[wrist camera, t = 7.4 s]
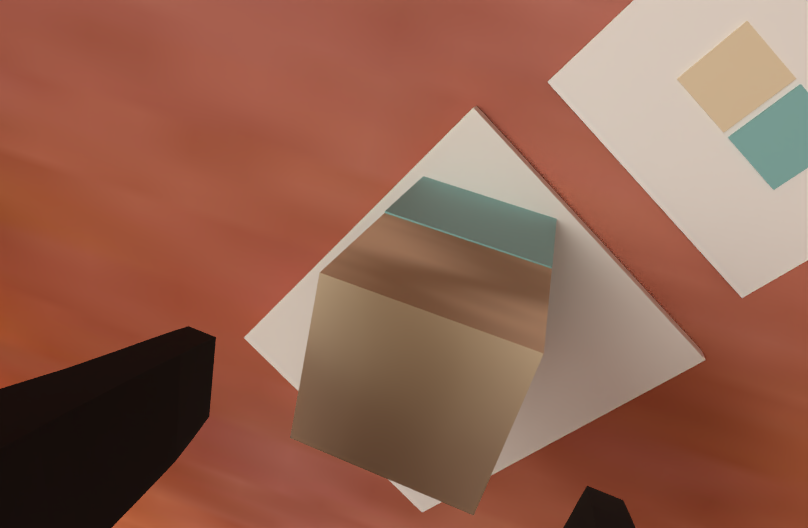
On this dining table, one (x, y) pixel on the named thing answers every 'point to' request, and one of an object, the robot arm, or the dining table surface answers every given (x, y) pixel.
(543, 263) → the teal block
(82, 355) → the dining table surface
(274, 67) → the dining table surface
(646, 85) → the tile
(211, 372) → the robot arm
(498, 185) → the plate
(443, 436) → the maple block
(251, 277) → the dining table surface
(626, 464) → the dining table surface
